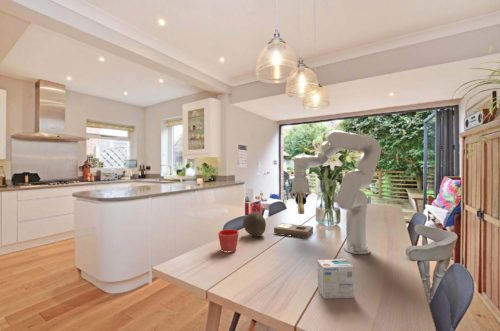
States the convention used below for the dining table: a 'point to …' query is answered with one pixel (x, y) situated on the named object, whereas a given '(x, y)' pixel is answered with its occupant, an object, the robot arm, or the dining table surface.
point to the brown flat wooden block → (294, 230)
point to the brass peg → (300, 203)
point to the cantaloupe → (254, 224)
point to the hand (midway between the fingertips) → (300, 203)
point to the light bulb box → (335, 278)
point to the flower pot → (228, 239)
